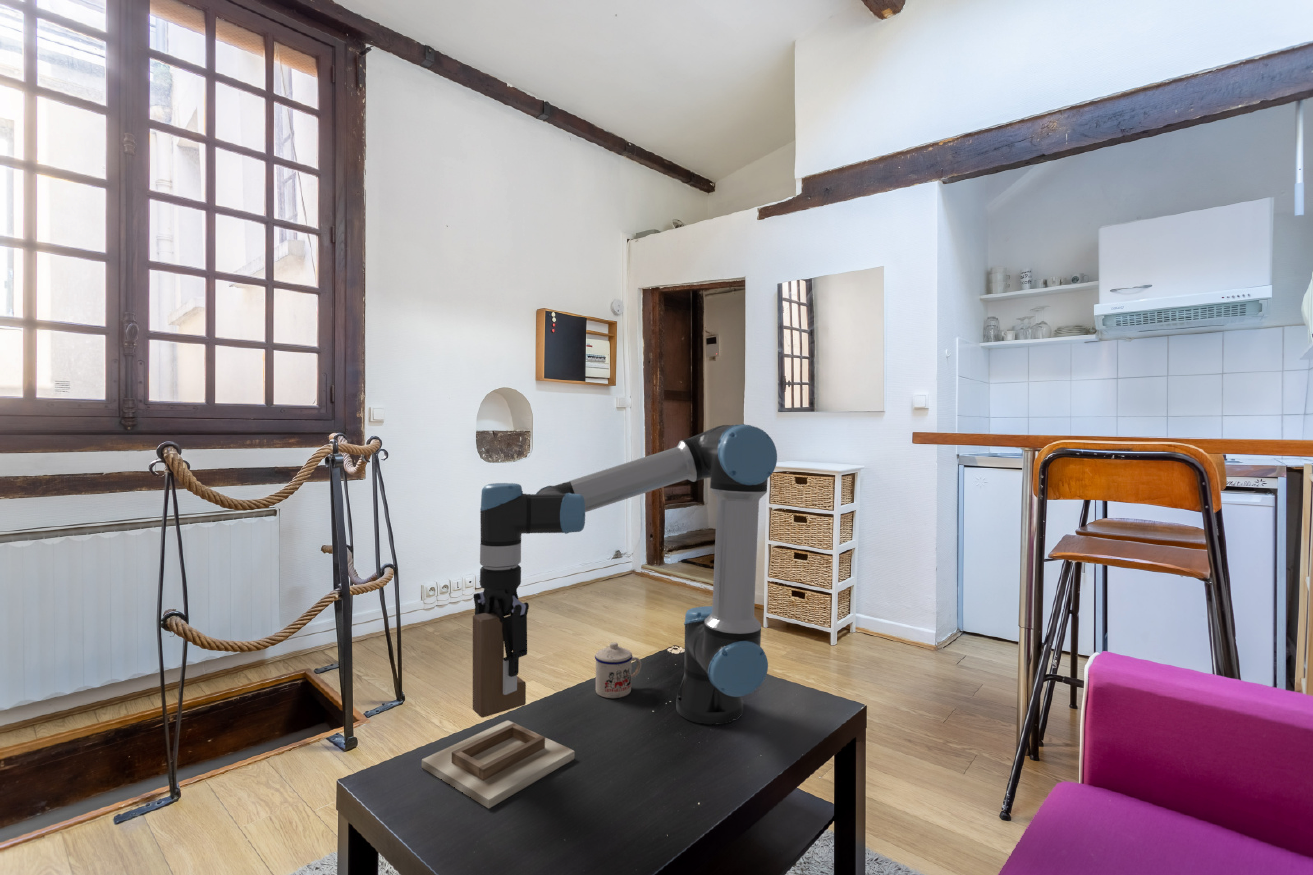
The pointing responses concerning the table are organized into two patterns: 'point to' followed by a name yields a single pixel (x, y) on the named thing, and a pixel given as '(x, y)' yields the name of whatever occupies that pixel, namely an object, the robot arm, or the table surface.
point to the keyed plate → (497, 762)
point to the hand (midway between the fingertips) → (499, 687)
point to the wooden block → (491, 669)
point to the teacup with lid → (614, 671)
